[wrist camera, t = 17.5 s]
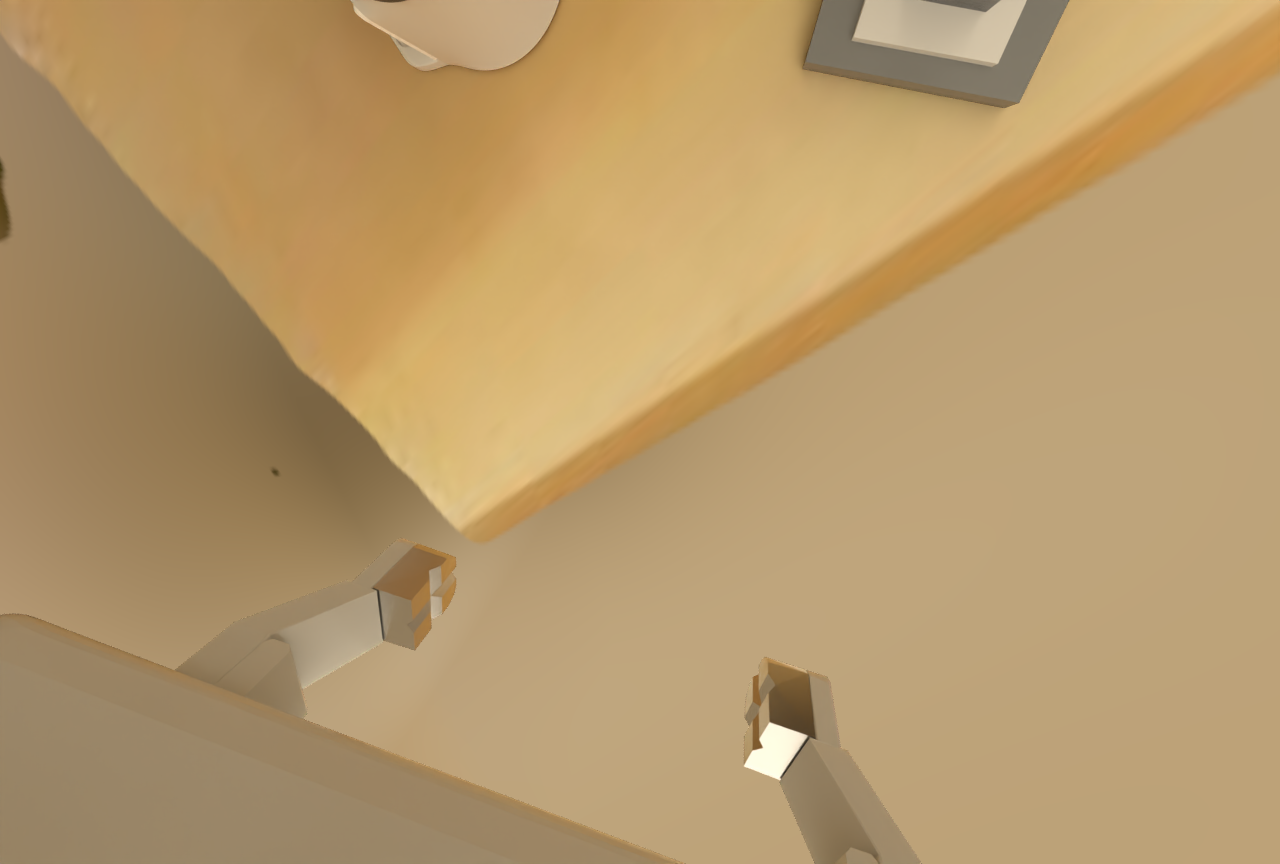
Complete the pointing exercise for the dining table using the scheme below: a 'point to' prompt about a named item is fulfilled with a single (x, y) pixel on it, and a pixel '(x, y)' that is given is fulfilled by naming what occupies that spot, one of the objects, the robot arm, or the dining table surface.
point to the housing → (968, 4)
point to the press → (936, 45)
